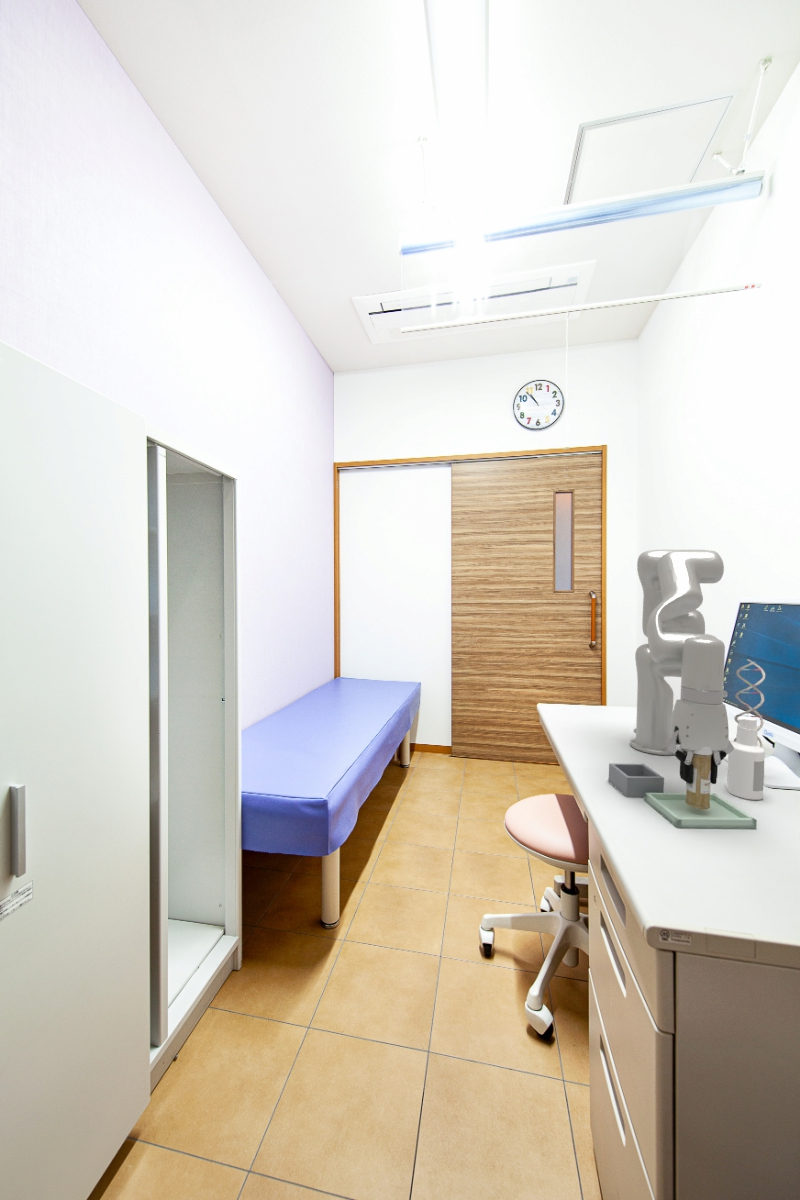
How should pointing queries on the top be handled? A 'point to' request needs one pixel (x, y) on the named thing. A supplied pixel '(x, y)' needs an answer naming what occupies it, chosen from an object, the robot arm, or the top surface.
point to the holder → (635, 779)
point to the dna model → (752, 693)
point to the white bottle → (746, 762)
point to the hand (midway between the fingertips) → (698, 780)
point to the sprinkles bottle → (700, 780)
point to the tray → (700, 812)
